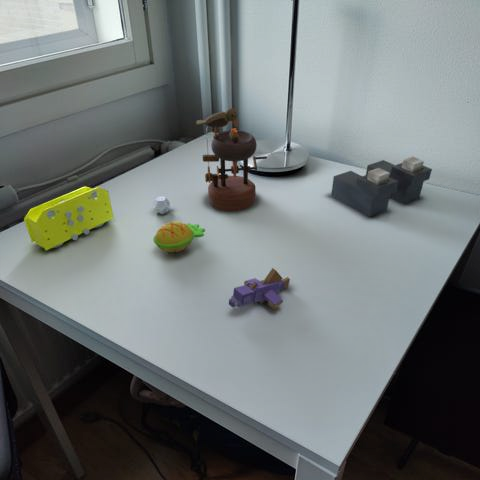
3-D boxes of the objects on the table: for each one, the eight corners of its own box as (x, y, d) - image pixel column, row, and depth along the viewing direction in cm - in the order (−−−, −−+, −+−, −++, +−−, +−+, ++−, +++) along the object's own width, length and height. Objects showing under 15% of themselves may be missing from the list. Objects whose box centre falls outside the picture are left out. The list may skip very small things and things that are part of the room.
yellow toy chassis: (48, 255, 87) (35, 215, 82) (32, 244, 90) (18, 205, 84) (115, 222, 96) (108, 184, 91) (99, 213, 99) (90, 176, 94)
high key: (387, 182, 95) (389, 172, 93) (377, 186, 93) (379, 176, 92) (376, 177, 97) (378, 167, 95) (366, 180, 95) (368, 171, 94)
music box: (209, 217, 98) (201, 116, 86) (197, 198, 106) (188, 104, 94) (276, 205, 101) (277, 107, 89) (259, 188, 110) (258, 96, 98)
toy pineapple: (149, 247, 89) (145, 222, 85) (193, 231, 93) (191, 207, 90) (165, 264, 85) (162, 238, 81) (212, 246, 89) (210, 222, 85)
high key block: (391, 212, 99) (398, 181, 94) (371, 219, 96) (377, 188, 92) (348, 189, 107) (353, 160, 102) (329, 196, 104) (333, 166, 100)
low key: (421, 170, 99) (424, 161, 98) (412, 173, 98) (414, 164, 96) (410, 165, 101) (412, 156, 99) (401, 168, 100) (403, 159, 98)
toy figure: (246, 333, 73) (247, 312, 69) (216, 300, 77) (216, 278, 73) (303, 300, 77) (308, 278, 73) (272, 270, 81) (275, 248, 77)
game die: (157, 206, 101) (156, 194, 99) (173, 208, 101) (172, 196, 99) (151, 214, 99) (149, 201, 97) (167, 216, 98) (165, 203, 96)
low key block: (423, 199, 103) (432, 169, 98) (405, 206, 101) (413, 175, 96) (380, 178, 111) (386, 149, 106) (362, 184, 109) (368, 155, 104)
